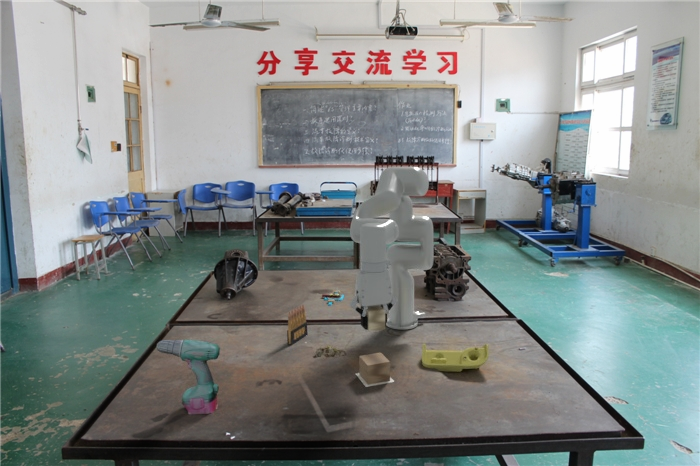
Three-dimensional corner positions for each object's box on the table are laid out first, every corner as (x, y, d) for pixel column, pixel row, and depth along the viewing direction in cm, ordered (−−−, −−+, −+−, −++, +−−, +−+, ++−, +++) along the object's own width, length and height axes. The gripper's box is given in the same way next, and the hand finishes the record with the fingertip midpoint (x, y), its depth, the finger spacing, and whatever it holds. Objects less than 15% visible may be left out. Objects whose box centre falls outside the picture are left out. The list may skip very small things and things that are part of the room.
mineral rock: (311, 355, 171) (318, 339, 178) (312, 365, 173) (319, 349, 180) (343, 359, 169) (349, 343, 176) (343, 369, 171) (349, 353, 178)
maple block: (378, 323, 156) (378, 304, 155) (385, 329, 152) (385, 309, 151) (363, 325, 155) (362, 306, 154) (369, 331, 150) (368, 311, 149)
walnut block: (381, 370, 161) (380, 352, 160) (390, 380, 154) (390, 361, 153) (359, 374, 159) (359, 355, 158) (367, 384, 152) (367, 365, 151)
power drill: (166, 403, 146) (159, 335, 142) (225, 400, 147) (220, 332, 143) (159, 417, 139) (152, 346, 135) (221, 413, 140) (216, 343, 136)
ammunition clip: (291, 345, 184) (290, 312, 182) (287, 344, 185) (285, 312, 183) (307, 334, 194) (306, 303, 191) (303, 334, 195) (302, 303, 192)
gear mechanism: (317, 306, 227) (338, 306, 225) (316, 294, 226) (338, 294, 224) (327, 292, 246) (346, 292, 245) (326, 281, 245) (346, 281, 244)
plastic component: (420, 364, 162) (423, 339, 170) (423, 380, 166) (426, 355, 174) (489, 366, 157) (488, 340, 165) (490, 382, 161) (489, 356, 169)
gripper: (395, 260, 156) (395, 318, 160) (341, 266, 151) (342, 326, 154) (406, 266, 149) (406, 327, 153) (349, 272, 144) (350, 335, 147)
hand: (374, 326), depth 153 cm, fingers closed on maple block, 5 cm apart
